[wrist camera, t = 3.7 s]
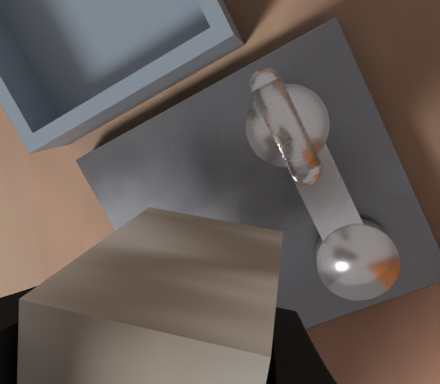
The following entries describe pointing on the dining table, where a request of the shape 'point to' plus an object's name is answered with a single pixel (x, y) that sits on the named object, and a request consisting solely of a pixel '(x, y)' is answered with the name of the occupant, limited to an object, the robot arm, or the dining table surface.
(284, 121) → the crank
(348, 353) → the dining table surface
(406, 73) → the dining table surface
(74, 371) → the block
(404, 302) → the dining table surface
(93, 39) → the tray
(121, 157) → the crank plate
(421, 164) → the dining table surface
